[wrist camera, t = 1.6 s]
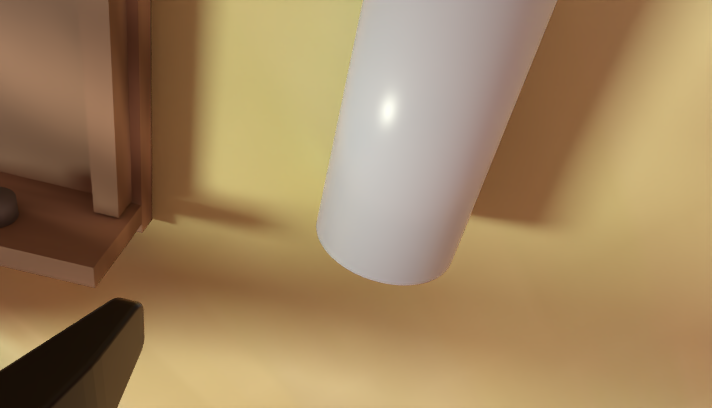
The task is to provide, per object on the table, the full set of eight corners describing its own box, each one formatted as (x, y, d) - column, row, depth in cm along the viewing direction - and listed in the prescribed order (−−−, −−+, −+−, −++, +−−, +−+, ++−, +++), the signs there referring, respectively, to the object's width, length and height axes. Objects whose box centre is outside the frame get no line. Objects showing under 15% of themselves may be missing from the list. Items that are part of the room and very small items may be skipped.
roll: (463, 226, 23) (435, 308, 18) (345, 181, 24) (292, 250, 19) (570, -38, 17) (563, -5, 13) (407, -85, 18) (351, -69, 14)
